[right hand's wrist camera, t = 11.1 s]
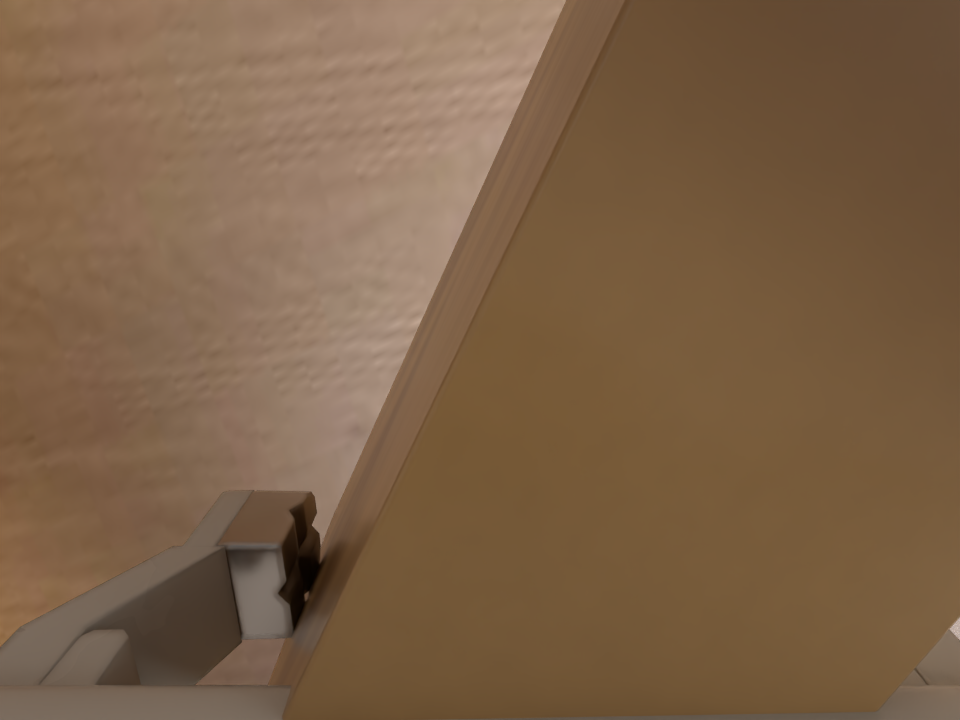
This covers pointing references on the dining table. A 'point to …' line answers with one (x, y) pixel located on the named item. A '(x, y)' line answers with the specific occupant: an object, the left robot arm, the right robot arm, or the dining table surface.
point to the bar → (673, 388)
